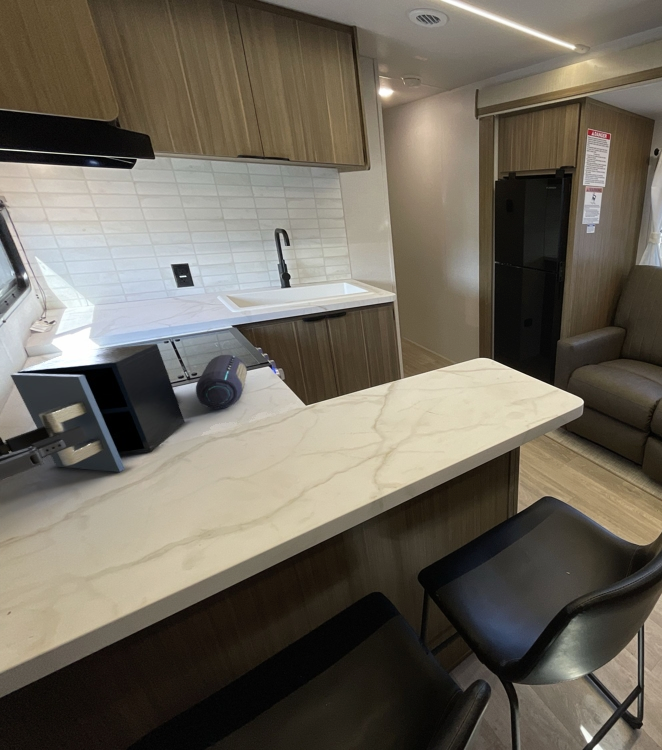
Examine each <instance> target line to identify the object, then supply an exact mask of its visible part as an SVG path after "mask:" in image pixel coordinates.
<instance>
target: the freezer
mask: <svg viewBox="0 0 662 750" xmlns="http://www.w3.org/2000/svg"><path fill="white" fill-rule="evenodd" d="M167 372H168V370H167V368H166V364H165V362H164V360H163V357H162V354H161V351H160V349H159V346H158V343H150V344H139V345H128V346H118V347H116V346H115V347H108V348H107V347H106V348H94V349H85V350H73V351H71V352H69V353H66V354H63V355H60V356H58V357H55V358H52V359H49V360H47V361H43V362H40V363H38V364H35V365H33V366H29V367H27V368H24V369H22V370H18V371H17V372H16V373H29V374H66V375H84V376H85V378H86V380H87V383H88V385H89V387H90V390H91V392H92V394H93V397H94V399H95V401H96V403H97V406H98V408H99V410H100V413H101V415H102V417H103V419H104V422H105V424H106V426H107V429H108V431H109V433H110V436H111V438H112V440H113V442H114V445H115V447H116V449H117V452H118V454H119V456H120V457H122V456H124V457H125V456H131V455H139V454H146V453H152V452H153V451H155V450H156V449H157V448H158V447H159V446H161V444H162V443H164V442H165V441H166V440H168V438H169V437H170V436H172V435H174V433H175V432H176V431H178V430H179V429H180V428H181V427H182V426H183V425H184V424H186V422H185V418H184V415H183V412H182V410H181V407H180V404H179V402H178V399H177V396H176V393H175V391H174V387H173V385H172V384H173V383H172V382H171V379H170V376H168V375H169V372H168V373H167Z"/></svg>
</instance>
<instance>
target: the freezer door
mask: <svg viewBox="0 0 662 750" xmlns="http://www.w3.org/2000/svg"><path fill="white" fill-rule="evenodd" d="M10 378H11V379H12V381H13V383H14V385H15V387H16V389H17V391H18V393H19V395H20V398H21V399H22V402H23V403H24V405H25V407H26V409H27V411H28V413H29V415H30V417H31V419H32V421H33V423H34V425H35V427H36V429H38V428H41V427H43V426H44V427H45V429H46V431H47V433H48V435H49V437H52V436H54V435H57V434H59V433H62V432H65V431H67V430H70V429H73V428H75V427H78V426H81V427H82V429H83V431H84V433H85V435H86V437H87V440H86V441H84V442H81V443H79V444H76V445H74V446H71V447H69V448H67V449H64V450H62V451H59V452H57V453H54V454H52V455H50V457H51V458H52V461H53V462H54V465H55V466H56V467H57V468H58V467H59V468H68V469H81V470H94V471H105V472H116V473H121V472H123V471H125V469H126V468H125V465H124V463H123V461H122V458H121V456H119V454H118V452H117V449H116V447H115V445H114V442H113V440H112V438H111V436H110V433H109V431H108V429H107V426H106V424H105V422H104V419H103V417H102V415H101V413H100V410H99V408H98V406H97V403H96V401H95V399H94V397H93V394H92V392H91V390H90V387H89V385H88V383H87V380H86V378H85V376H84V375H66V374H29V373H17V372H16V373H12V374H10Z"/></svg>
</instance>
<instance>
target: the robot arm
mask: <svg viewBox="0 0 662 750" xmlns="http://www.w3.org/2000/svg"><path fill="white" fill-rule="evenodd" d="M86 440H87V437H86V435H85V433H84V431H83V429H82V427H81V426H78V427H75V428H73V429H70V430H67V431H65V432H62V433H59V434H57V435H54V436H52V437H49V435H48V433H47V431H46V429H45V427H44V426H43V427H41V428H38V429H37V428H35V429H32V430H30V431H26V432H25V433H24V432H23V433H21V434H18V435H15V436H13V437H9V438H7V439H5V440H3V439H2V437H1V436H0V482H1V481H4V480H6V479H9V478H11V477H14V476H16V475H19V474H22V473H23V472H26V471H29V470H32V469H34V468H36V467H39V466H43V465H45V461H44V458H47V457H49V456H51V455H52V454H54V453H57V452H59V451H62V450H64V449H67V448H69V447H71V446H74V445H76V444H79V443H81V442H84V441H86Z"/></svg>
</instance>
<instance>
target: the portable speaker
mask: <svg viewBox="0 0 662 750" xmlns="http://www.w3.org/2000/svg"><path fill="white" fill-rule="evenodd" d="M247 374H248V369H247V365H246V364H245V362H244V361H243V360H242V359H241V358H240V357H238V356H237V355H232V354H220V355H218V356H215V357H213V358H212V359H211V360H210V361H209V362H208V363H207V364H206V366H205V368H204V370H203V372H202V374H201V375H200V377H199V379H198V380H197V383H196V385H195V394H196V395H195V396H196V398H197V400H198V401H199V403H200V404H202V406H205V407H206V408H210V409H214V410H219V409H226V408H229V407H231V406H233V405H235V404H236V403H238V401H239V400H240V399H241V397H242V394H243V390H244V387H245V382H246V379H247Z"/></svg>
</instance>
